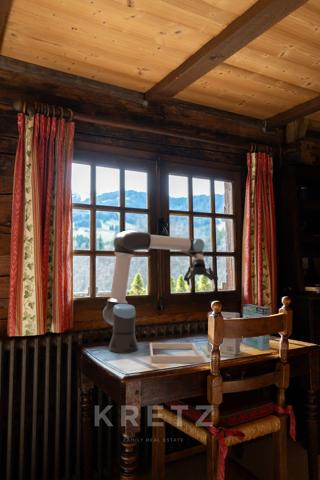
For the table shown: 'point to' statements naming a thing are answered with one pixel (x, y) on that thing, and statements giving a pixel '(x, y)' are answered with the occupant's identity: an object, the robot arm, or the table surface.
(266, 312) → the gum box
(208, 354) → the mat
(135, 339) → the robot arm
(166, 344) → the frame
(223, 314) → the hard drive box
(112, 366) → the table surface
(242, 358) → the table surface
